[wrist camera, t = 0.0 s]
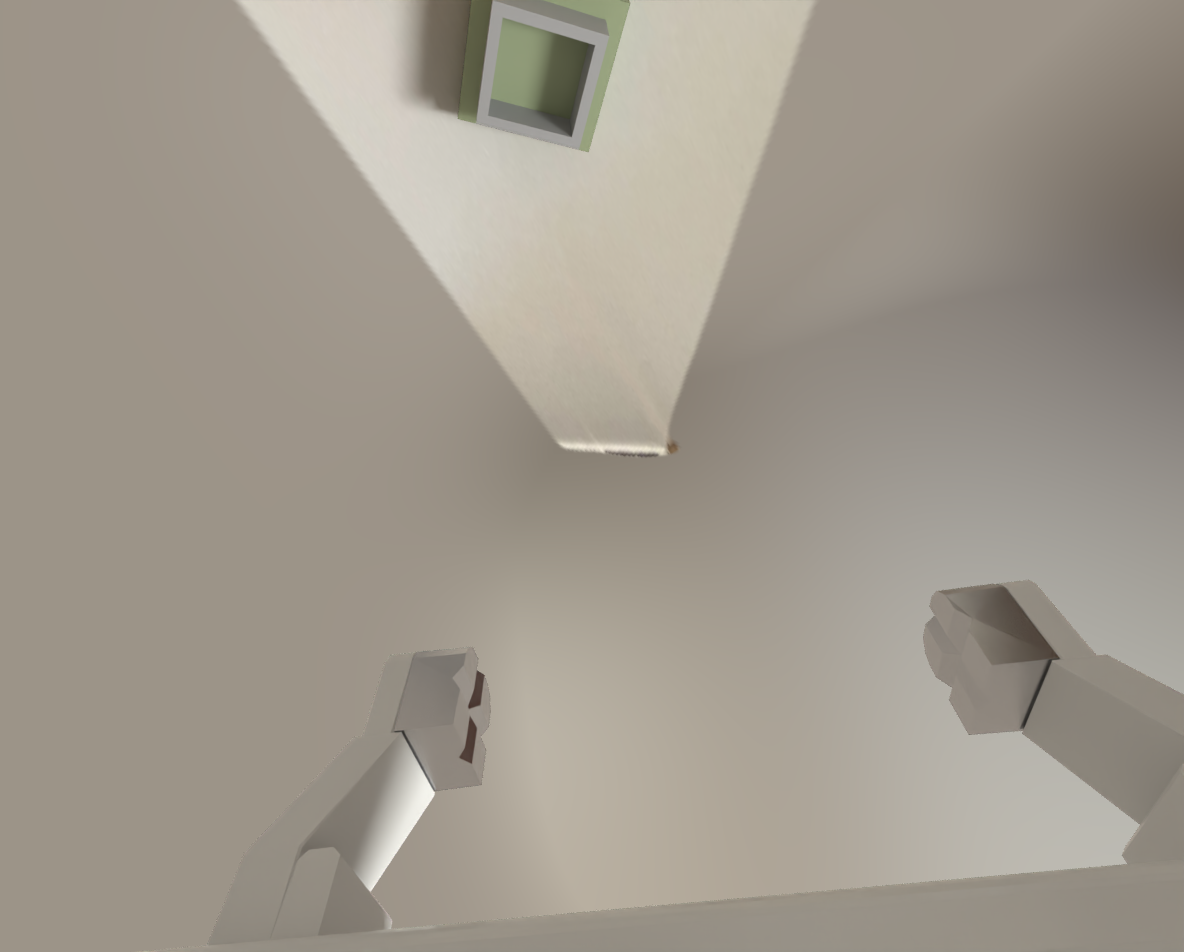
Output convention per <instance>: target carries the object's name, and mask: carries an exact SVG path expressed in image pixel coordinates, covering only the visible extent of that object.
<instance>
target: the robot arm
mask: <svg viewBox="0 0 1184 952" xmlns="http://www.w3.org/2000/svg"><path fill="white" fill-rule="evenodd" d="M930 608H931V610H932V612H933V613H934V615H935V616H934V617H933V618H932V619H931V620H930V621H928V622H927V623H926V625H925V630H924V636H923V640H924V647H925V653H926V656H927V659H928V661H929V664H930V666H931V668H932V670H933V672H934V674H935V676H936V677H937V678H938V679H940V680H941V681H943V682H944V683H946V684H947V685H949V686H950V687H952V691H951V695H950V699H949V701H950V702H951V704H952V706H953V708H954V710H955V711H956V713H957V715H958V717H959V718H960V720H961V722H962V723H963V725H964V727H965V729H966V731H967V732H968V734H969V735H972V734H986V733H998V732H1012V731H1023V732H1022V734H1024V735H1025V736H1026V737H1027V738H1029V739H1030V740H1031V741H1033V742H1034V743H1035V744H1037V745H1038V746H1039V747H1040V748H1042V749H1043V750H1044V751H1045V752H1047V753H1048V754H1049V755H1051V756H1052V757H1053V758H1055V759H1056V760H1057V761H1058V762H1060V763H1061V764H1062V765H1064V766H1065V767H1066V768H1067V769H1069V770H1070V771H1071V772H1073V773H1074V774H1075V775H1077V776H1078V777H1079V778H1080V779H1082V780H1083V781H1084V782H1086V783H1087V784H1088V785H1089V786H1091V787H1092V788H1093V789H1095V790H1096V791H1097V792H1098V793H1100V794H1101V795H1102V796H1104V797H1105V798H1106V799H1108V800H1109V801H1110V802H1111V803H1113V804H1114V805H1115V806H1117V807H1118V808H1119V809H1121V810H1122V811H1123V812H1124V813H1126V814H1127V815H1128V816H1130V817H1131V818H1132V819H1134V820H1135V821H1136V822H1137V823H1139V824H1140V826H1139V828H1138V829H1137V830H1136V832H1135V833H1134V835H1133V836H1132V838H1131V839H1130V841H1129V842H1128V844H1127V845H1126V847H1125V849H1124V852H1123V854H1122V856H1123V858H1124V859H1125V861H1126V862H1127V864H1123V865H1113V866H1101V867H1089V868H1078V869H1067V870H1056V871H1044V872H1033V873H1021V874H1010V875H998V876H987V877H976V878H965V879H953V880H942V881H930V882H920V883H909V884H908V883H907V884H896V885H885V886H873V887H862V888H850V889H839V890H828V891H816V892H805V893H794V894H782V895H771V896H760V897H748V898H737V899H727V900H726V899H725V900H714V901H703V902H691V903H681V904H669V905H657V906H646V907H635V908H624V909H613V910H601V911H590V912H578V913H567V914H556V915H544V916H533V917H522V918H511V919H499V920H489V921H477V922H466V923H455V924H443V925H432V926H421V927H410V928H399V929H391V926H392V920H391V918H390V916H389V915H388V913H387V912H386V911H385V909H384V908H383V907H382V906H381V904H380V903H379V902H378V901H377V900H376V898H375V897H374V896H373V895H372V893H371V890H372V889H373V887H374V886H375V884H376V883H377V881H378V880H379V878H380V877H381V875H382V874H383V872H384V871H385V869H386V868H387V866H388V865H389V863H390V862H391V860H392V859H393V857H394V856H395V854H396V852H397V851H398V850H399V848H400V846H401V845H402V843H403V842H404V840H405V839H406V837H407V836H408V834H409V833H410V831H411V830H412V828H413V827H414V825H415V824H416V822H417V821H418V819H419V818H420V816H421V815H422V813H423V812H424V810H425V809H426V807H427V806H428V804H429V803H430V801H431V800H432V798H433V797H434V795H435V793H434V791H440V790H448V789H455V788H463V787H471V786H478V785H482V778H483V770H484V762H485V755H486V748H485V746H484V743H483V741H482V738H481V736H482V735H483V733H484V732H485V731H486V730H487V728H488V727H489V721H490V712H491V710H490V693H489V688H488V683H487V681H486V678H485V675H484V674H482V673H481V672H479V671H477V665H478V657H477V655H476V653H475V650H474V648H472V647H467V648H455V649H444V650H434V651H423V652H415V653H404V654H394V655H390V656H389V658H388V659H387V660H386V662H385V664H384V666H383V670H382V673H381V676H380V680H379V683H378V686H377V689H376V692H375V696H374V699H373V702H372V706H371V709H370V712H369V715H368V719H367V722H366V725H365V729H364V732H363V735H362V736H359V737H354V738H353V739H352V740H351V741H350V742H349V743H348V744H347V745H346V746H345V747H344V748H343V749H342V750H341V752H340V753H339V754H338V755H337V756H336V757H335V758H334V759H333V760H332V761H331V762H330V763H329V764H328V765H327V766H326V767H325V768H324V769H323V771H322V772H321V773H320V774H319V775H318V776H317V777H316V778H315V779H314V780H313V781H312V782H311V783H310V784H309V785H308V786H307V788H305V789H304V791H303V792H302V793H301V794H300V795H299V796H298V797H297V798H296V799H295V800H294V801H293V802H292V803H291V804H290V805H289V806H288V807H287V808H286V810H285V811H284V812H283V813H282V814H281V815H280V816H279V817H278V818H277V819H276V820H275V821H274V822H273V823H272V824H271V825H270V826H269V827H268V828H267V830H266V831H265V832H264V833H263V834H262V835H261V836H260V837H259V838H258V839H257V840H256V841H255V842H254V843H253V844H252V845H251V846H250V847H249V848H248V850H247V851H246V852H245V853H244V855H243V857H242V860H241V862H240V865H239V867H238V870H237V872H236V874H235V877H234V880H233V882H232V884H231V887H230V889H229V892H228V894H227V897H226V899H225V902H224V904H223V906H222V909H221V911H220V914H219V916H218V919H217V921H216V924H215V926H214V929H213V931H212V934H211V936H210V938H209V941H208V943H207V945H206V946H195V947H183V948H172V949H161V950H150V951H138V952H1184V695H1183V694H1181V693H1180V692H1178V691H1176V690H1174V689H1172V688H1170V687H1168V686H1166V685H1164V684H1162V683H1160V682H1158V681H1156V680H1155V679H1152V678H1151V677H1149V676H1147V675H1145V674H1143V673H1141V672H1139V671H1137V670H1135V669H1133V668H1131V667H1129V666H1128V665H1126V664H1124V663H1122V662H1120V661H1118V660H1116V659H1114V658H1112V657H1110V656H1108V655H1096V654H1095V653H1094V652H1093V650H1092V649H1091V648H1090V647H1089V646H1088V644H1087V643H1086V642H1085V641H1084V640H1083V639H1082V637H1081V636H1080V635H1079V634H1078V633H1077V631H1076V630H1075V629H1074V628H1073V627H1072V626H1071V624H1070V623H1069V622H1068V621H1067V620H1066V618H1065V617H1064V616H1063V615H1062V614H1061V613H1060V611H1059V610H1058V609H1057V608H1056V607H1055V605H1054V604H1053V603H1052V602H1051V601H1050V600H1049V599H1048V597H1047V596H1046V595H1045V594H1044V593H1043V591H1042V590H1041V589H1040V588H1039V587H1038V585H1037V584H1035V583H1033V582H1032V581H1030V580H1023V581H1015V582H1007V583H999V584H987V585H980V586H971V587H964V588H956V589H949V590H941V591H936V592H935V593H934V595H933V596H932V598H931V603H930Z"/></svg>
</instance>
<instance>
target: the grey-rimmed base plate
mask: <svg viewBox="0 0 1184 952" xmlns="http://www.w3.org/2000/svg"><path fill="white" fill-rule="evenodd" d="M629 6H630V2H629V0H471V7H470V15H469V24H468V33H467V42H466V51H465V59H464V68H463V77H462V86H461V95H460V103H459V112H458V119H460V120H464V121H468V122H472V123H476V124H480V125H484V126H488V127H492V128H496V129H499V130H503V131H507V132H511V133H515V134H519V135H523V136H527V137H531V138H535V139H539V140H543V141H546V142H550V143H554V144H558V145H562V146H566V147H570V148H574V149H578V150H582V151H586V152H589V149H590V145H591V142H592V138H593V134H594V131H595V127H596V124H597V120H598V117H599V113H600V109H601V106H602V102H603V99H604V95H605V92H606V88H607V84H608V81H609V77H610V74H611V70H612V67H613V63H614V59H615V56H616V52H617V49H618V45H619V42H620V38H621V34H622V31H623V27H624V24H625V20H626V17H627V13H628V9H629Z"/></svg>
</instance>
